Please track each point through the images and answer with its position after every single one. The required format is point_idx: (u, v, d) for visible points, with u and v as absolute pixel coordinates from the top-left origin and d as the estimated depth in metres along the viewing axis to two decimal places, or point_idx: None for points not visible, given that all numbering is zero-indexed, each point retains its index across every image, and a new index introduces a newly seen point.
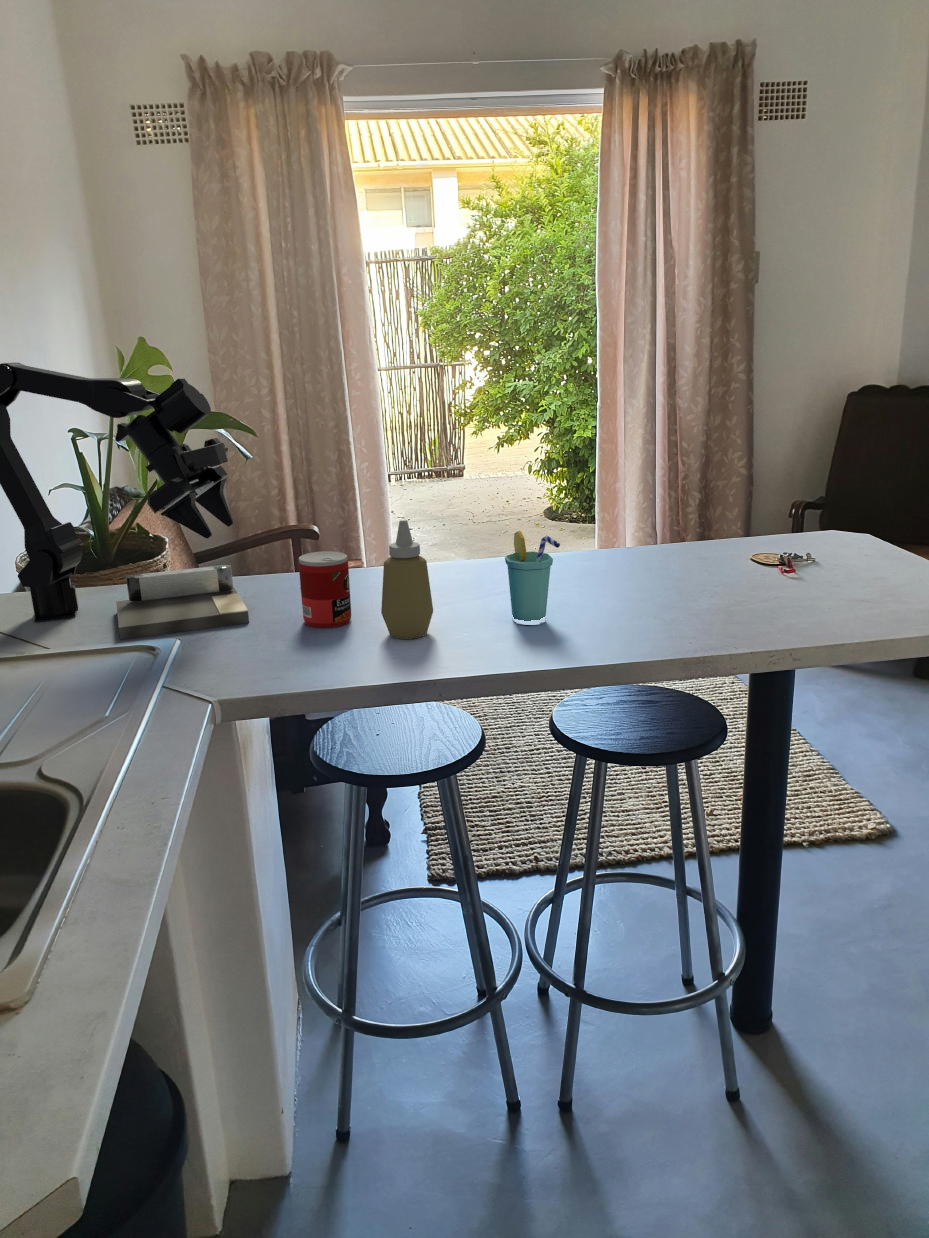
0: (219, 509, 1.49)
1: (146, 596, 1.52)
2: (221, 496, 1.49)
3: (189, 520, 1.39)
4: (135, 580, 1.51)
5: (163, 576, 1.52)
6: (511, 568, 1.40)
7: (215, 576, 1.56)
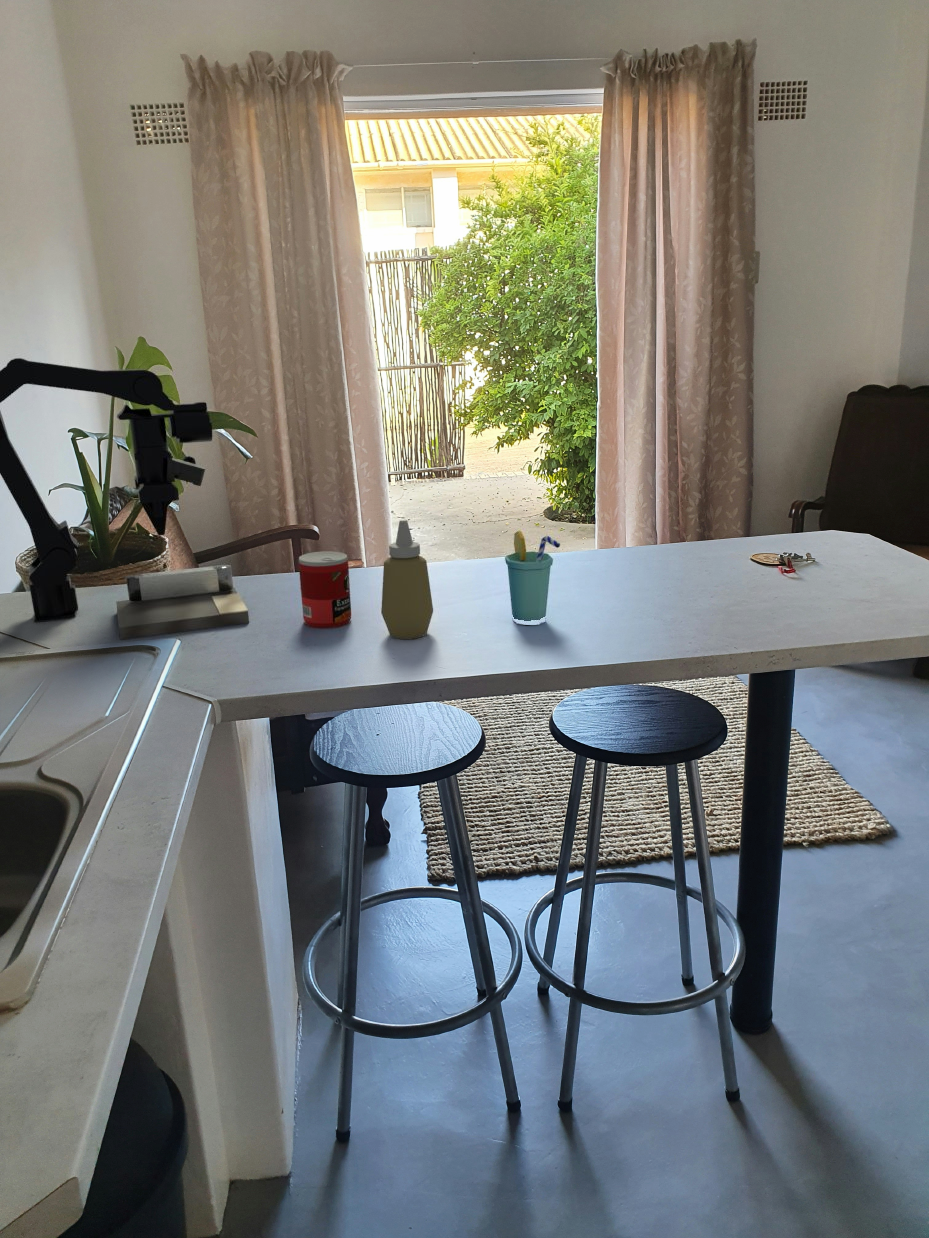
0: None
1: (146, 596, 1.52)
2: None
3: (156, 514, 1.55)
4: (135, 580, 1.51)
5: (163, 576, 1.52)
6: (511, 568, 1.40)
7: (215, 576, 1.56)
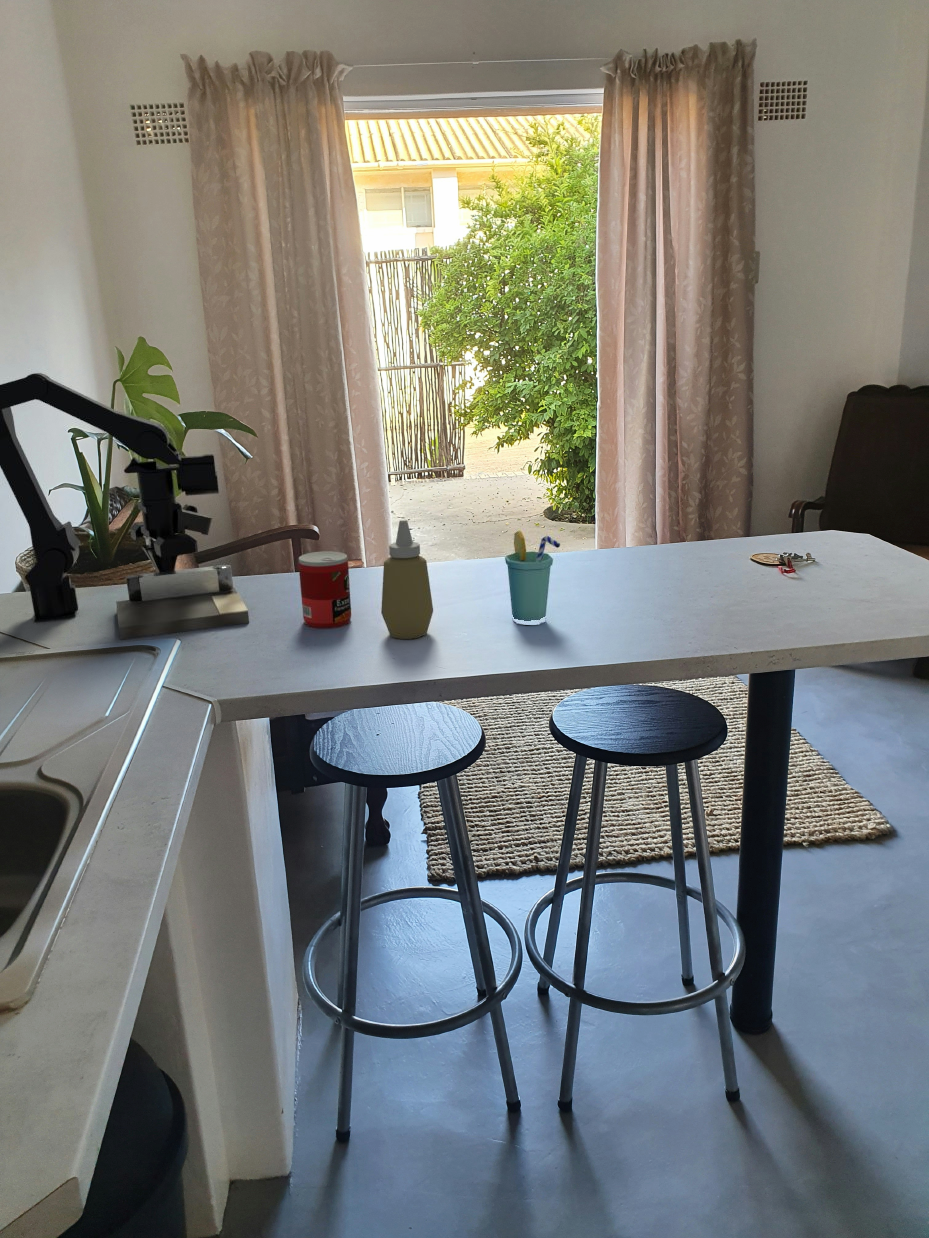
0: None
1: (146, 596, 1.52)
2: None
3: (165, 566, 1.55)
4: (135, 580, 1.50)
5: (163, 576, 1.52)
6: (511, 568, 1.40)
7: (215, 576, 1.56)
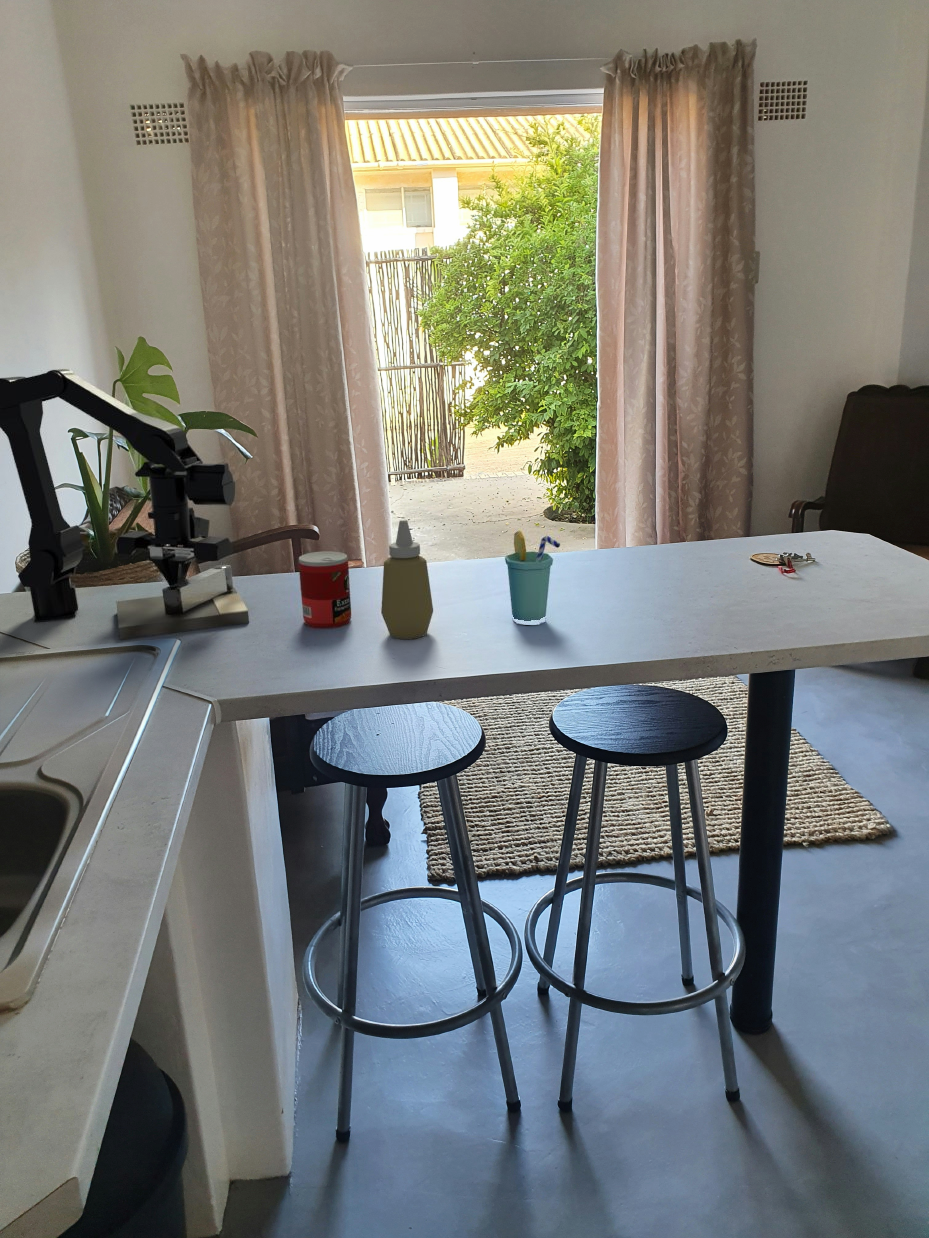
0: None
1: (185, 606, 1.46)
2: None
3: (181, 574, 1.49)
4: (178, 591, 1.43)
5: (194, 583, 1.48)
6: (511, 568, 1.40)
7: (224, 576, 1.56)
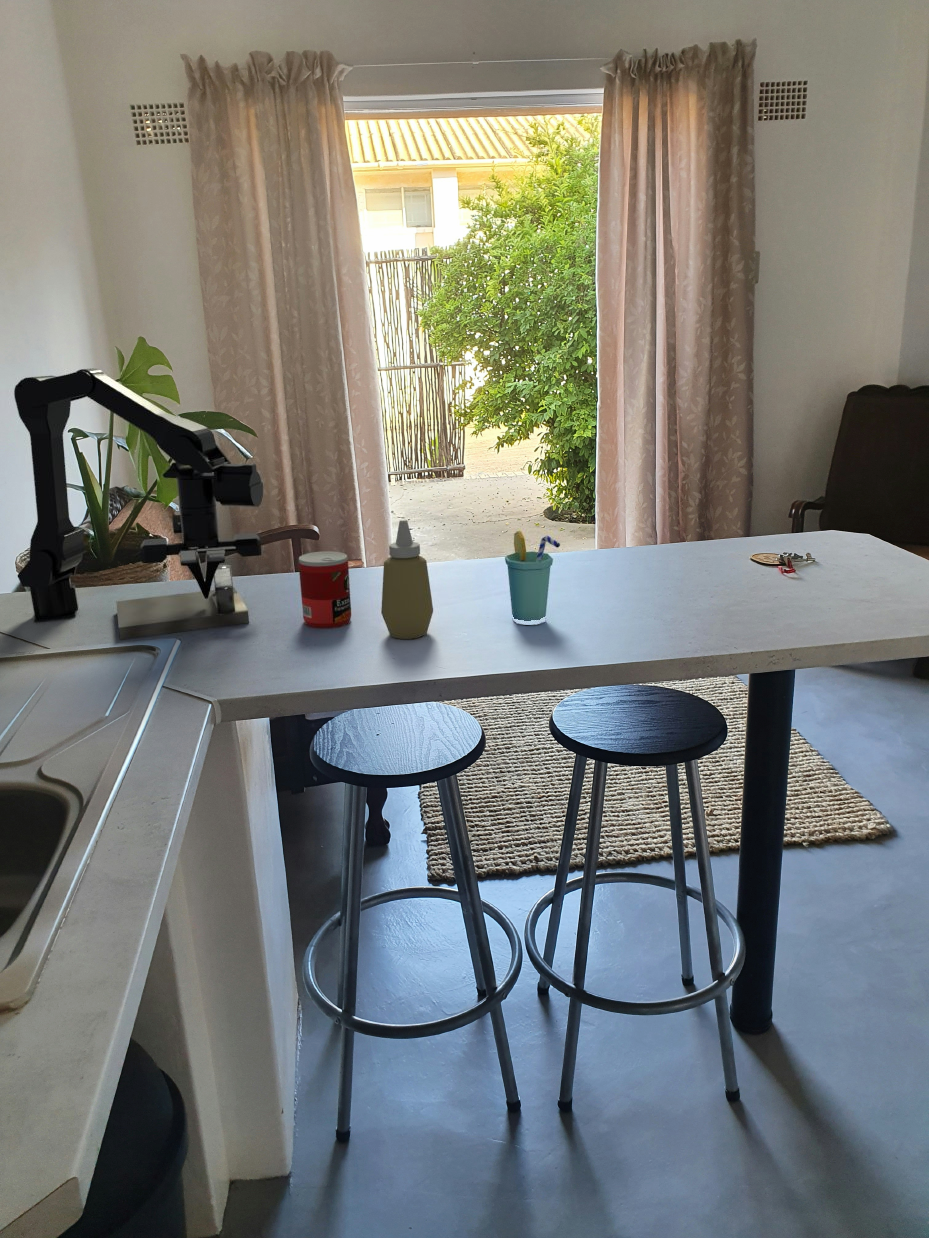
0: None
1: None
2: None
3: None
4: None
5: (231, 581, 1.48)
6: (511, 568, 1.40)
7: (230, 575, 1.56)
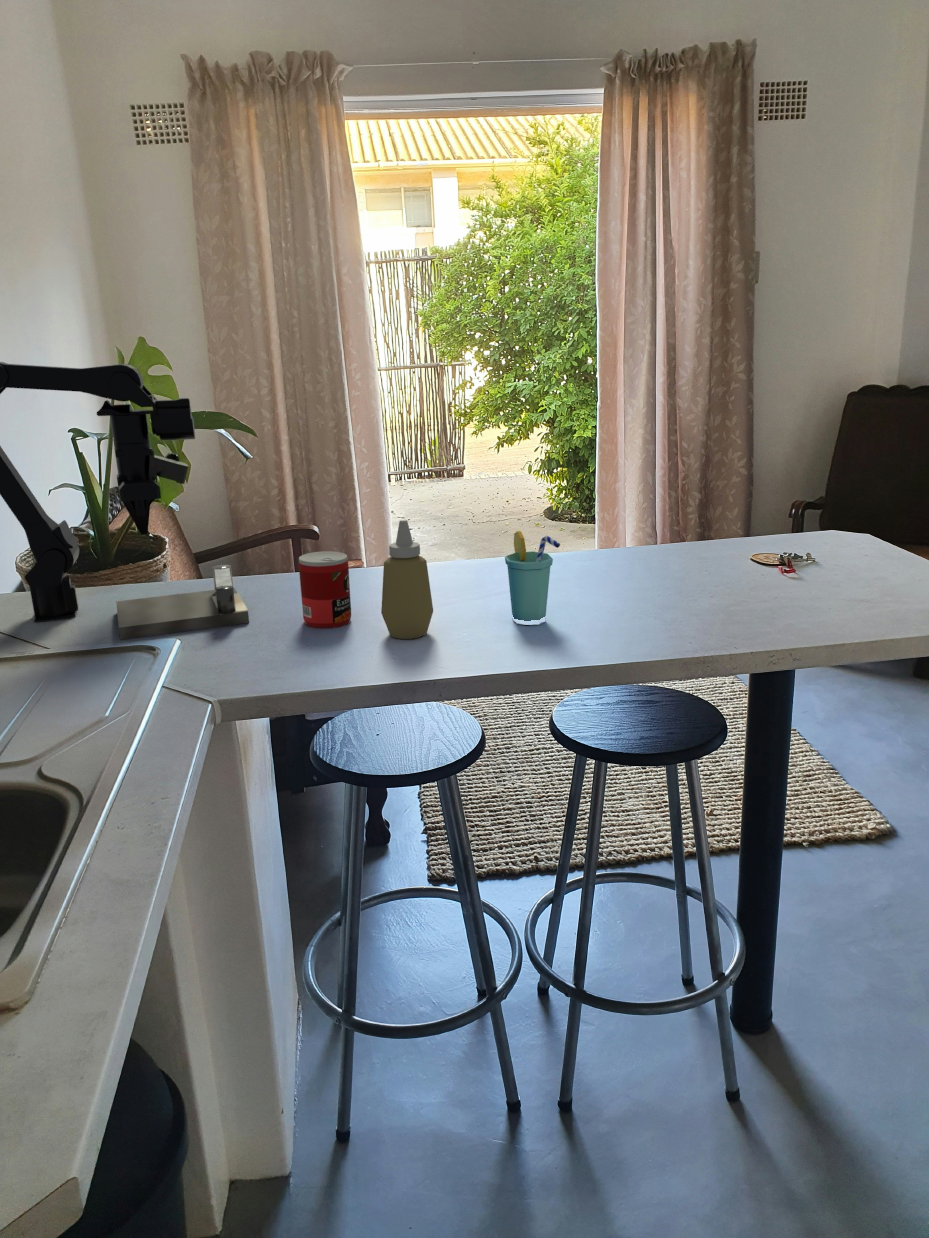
0: None
1: None
2: None
3: (138, 513, 1.51)
4: None
5: (231, 581, 1.48)
6: (511, 568, 1.40)
7: (230, 575, 1.56)
